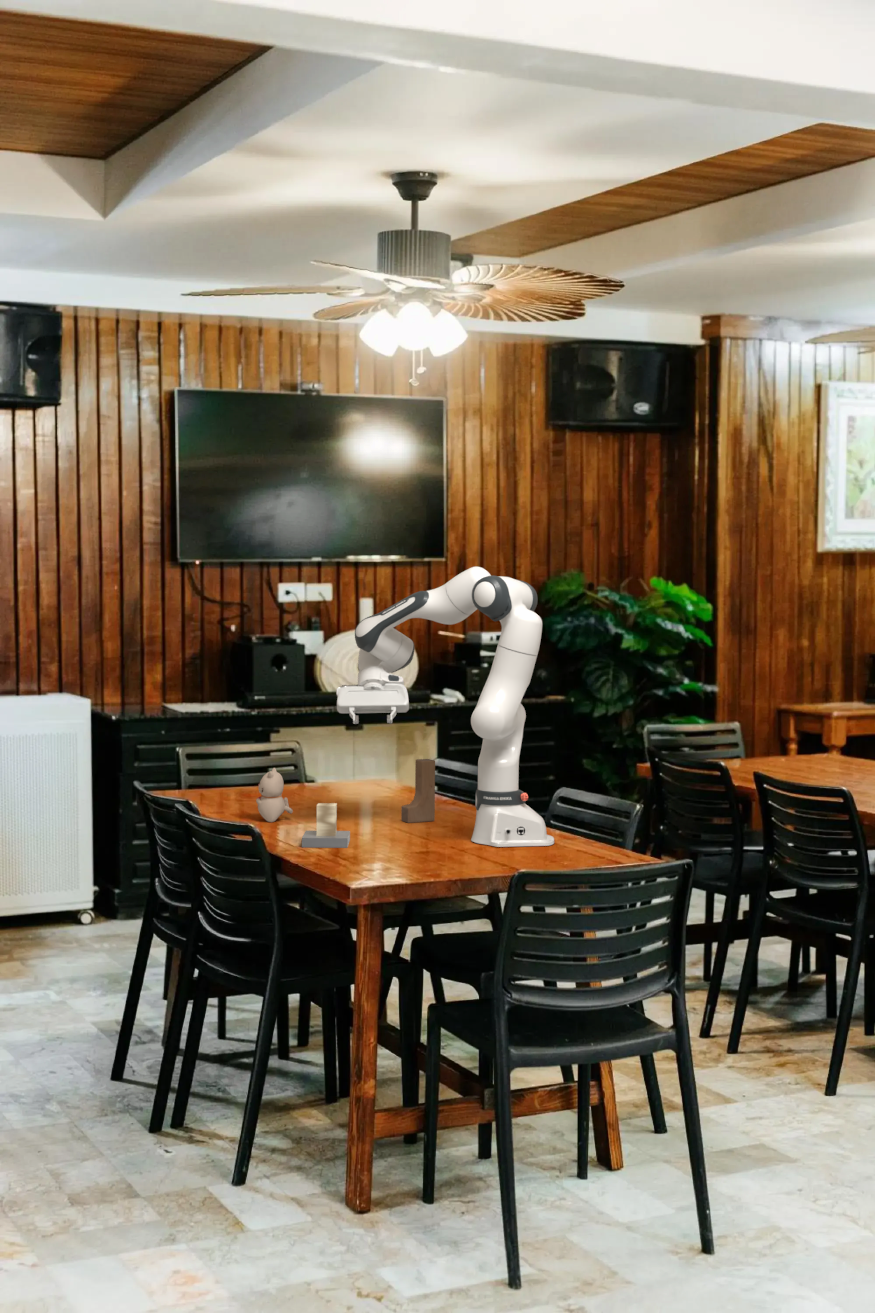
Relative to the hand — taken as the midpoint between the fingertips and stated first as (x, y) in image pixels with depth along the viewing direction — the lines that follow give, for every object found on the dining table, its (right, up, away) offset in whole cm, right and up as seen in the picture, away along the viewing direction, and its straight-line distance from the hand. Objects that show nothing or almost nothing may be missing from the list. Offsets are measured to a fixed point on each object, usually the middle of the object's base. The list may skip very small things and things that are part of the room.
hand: (372, 722), depth 425 cm
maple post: (-12, -29, -15) cm, 35 cm away
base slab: (-12, -32, -15) cm, 37 cm away
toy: (-30, -30, +25) cm, 49 cm away
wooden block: (+12, -30, +25) cm, 41 cm away
